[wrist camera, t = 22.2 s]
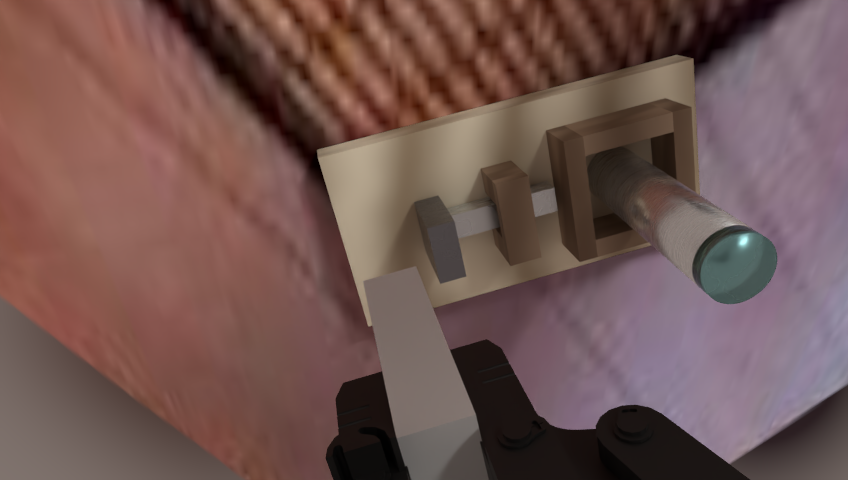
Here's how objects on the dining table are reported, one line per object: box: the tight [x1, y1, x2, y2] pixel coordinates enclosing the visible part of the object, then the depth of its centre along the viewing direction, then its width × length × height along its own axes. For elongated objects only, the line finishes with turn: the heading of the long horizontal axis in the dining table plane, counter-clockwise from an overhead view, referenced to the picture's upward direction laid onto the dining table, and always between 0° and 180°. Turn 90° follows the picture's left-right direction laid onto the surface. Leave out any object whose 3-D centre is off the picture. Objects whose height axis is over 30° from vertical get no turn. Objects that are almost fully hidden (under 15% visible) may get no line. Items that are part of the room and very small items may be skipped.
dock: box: [317, 55, 700, 327], centre depth 42 cm, size 24×12×5 cm, turn 103°
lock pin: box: [414, 181, 558, 284], centre depth 40 cm, size 9×4×5 cm, turn 103°
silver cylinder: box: [587, 147, 777, 304], centre depth 36 cm, size 4×4×14 cm
